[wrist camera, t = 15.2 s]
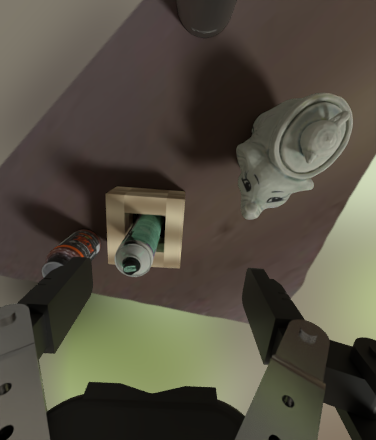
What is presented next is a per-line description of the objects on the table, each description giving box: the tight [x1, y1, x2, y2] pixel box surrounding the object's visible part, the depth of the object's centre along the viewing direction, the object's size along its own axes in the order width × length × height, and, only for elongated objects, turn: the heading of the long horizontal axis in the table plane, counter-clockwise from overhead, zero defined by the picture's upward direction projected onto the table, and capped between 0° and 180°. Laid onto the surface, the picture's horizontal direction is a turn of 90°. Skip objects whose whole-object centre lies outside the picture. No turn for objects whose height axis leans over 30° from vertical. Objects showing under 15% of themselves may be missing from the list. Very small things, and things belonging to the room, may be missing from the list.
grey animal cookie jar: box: [236, 93, 353, 219], centre depth 36 cm, size 16×15×19 cm
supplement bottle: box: [42, 229, 101, 277], centre depth 44 cm, size 7×7×13 cm
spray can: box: [115, 214, 164, 277], centre depth 39 cm, size 6×6×20 cm
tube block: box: [105, 186, 185, 268], centre depth 45 cm, size 14×14×7 cm
